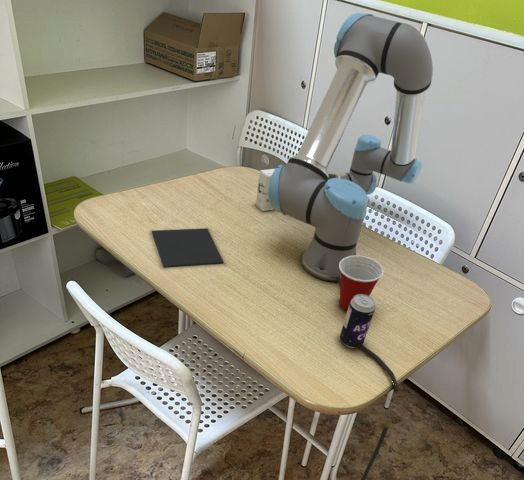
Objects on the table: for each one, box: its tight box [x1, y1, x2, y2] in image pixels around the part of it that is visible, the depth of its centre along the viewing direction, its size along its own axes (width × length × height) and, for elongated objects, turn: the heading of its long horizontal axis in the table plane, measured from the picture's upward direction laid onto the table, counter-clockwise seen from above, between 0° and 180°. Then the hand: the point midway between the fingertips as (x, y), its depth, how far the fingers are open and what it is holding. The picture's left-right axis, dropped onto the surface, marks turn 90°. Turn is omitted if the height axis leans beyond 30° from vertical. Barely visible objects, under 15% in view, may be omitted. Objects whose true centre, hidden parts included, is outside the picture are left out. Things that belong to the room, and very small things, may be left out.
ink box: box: [255, 168, 276, 212], centre depth 164 cm, size 8×5×12 cm, turn 121°
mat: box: [151, 227, 225, 268], centre depth 143 cm, size 18×16×1 cm
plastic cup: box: [339, 254, 385, 312], centre depth 128 cm, size 11×11×12 cm
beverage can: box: [339, 294, 376, 349], centre depth 117 cm, size 6×6×12 cm
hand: (275, 189), depth 165 cm, fingers open, 13 cm apart
